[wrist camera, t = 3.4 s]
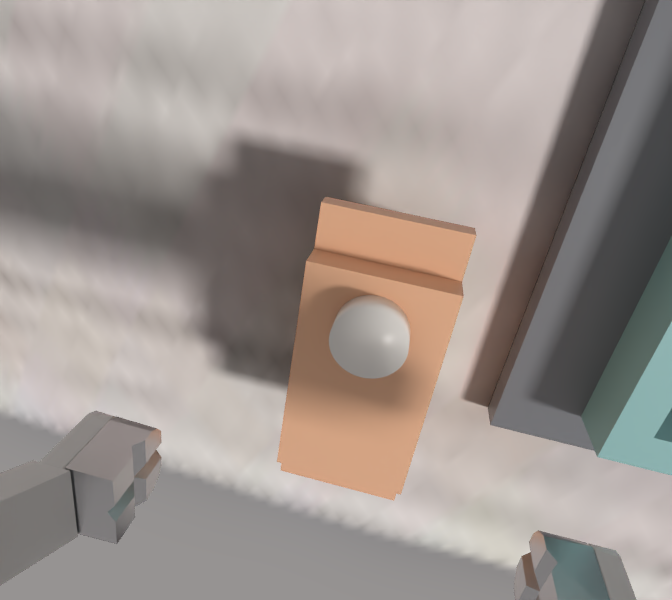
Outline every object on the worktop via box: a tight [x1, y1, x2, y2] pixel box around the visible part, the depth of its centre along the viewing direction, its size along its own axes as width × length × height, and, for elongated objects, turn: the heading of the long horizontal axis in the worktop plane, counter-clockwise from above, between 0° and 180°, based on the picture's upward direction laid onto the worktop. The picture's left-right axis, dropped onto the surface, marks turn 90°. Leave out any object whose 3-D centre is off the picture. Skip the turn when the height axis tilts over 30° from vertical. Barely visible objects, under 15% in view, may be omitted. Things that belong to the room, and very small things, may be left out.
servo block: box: [277, 197, 476, 500], centre depth 16 cm, size 4×10×6 cm, turn 171°
